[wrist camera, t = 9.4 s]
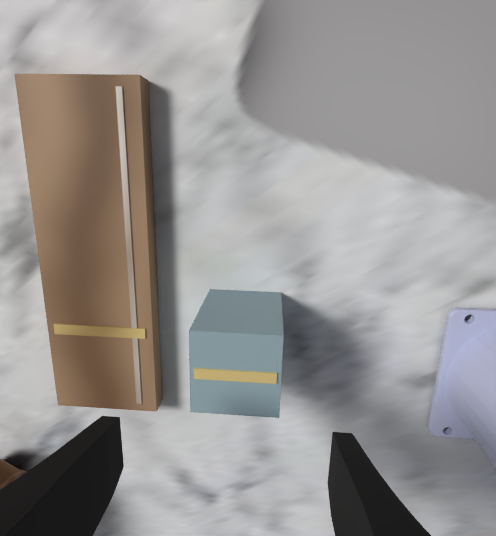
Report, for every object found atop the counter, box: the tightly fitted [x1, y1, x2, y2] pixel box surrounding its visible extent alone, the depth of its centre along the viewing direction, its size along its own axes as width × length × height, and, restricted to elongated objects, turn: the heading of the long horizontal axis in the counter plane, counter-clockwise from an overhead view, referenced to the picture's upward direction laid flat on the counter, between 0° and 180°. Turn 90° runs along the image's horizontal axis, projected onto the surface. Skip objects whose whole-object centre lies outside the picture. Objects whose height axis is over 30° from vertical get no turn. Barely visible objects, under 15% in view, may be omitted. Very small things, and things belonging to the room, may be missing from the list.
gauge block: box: [189, 289, 284, 418], centre depth 19 cm, size 4×4×6 cm
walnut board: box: [15, 74, 162, 411], centre depth 20 cm, size 6×18×1 cm, turn 179°
